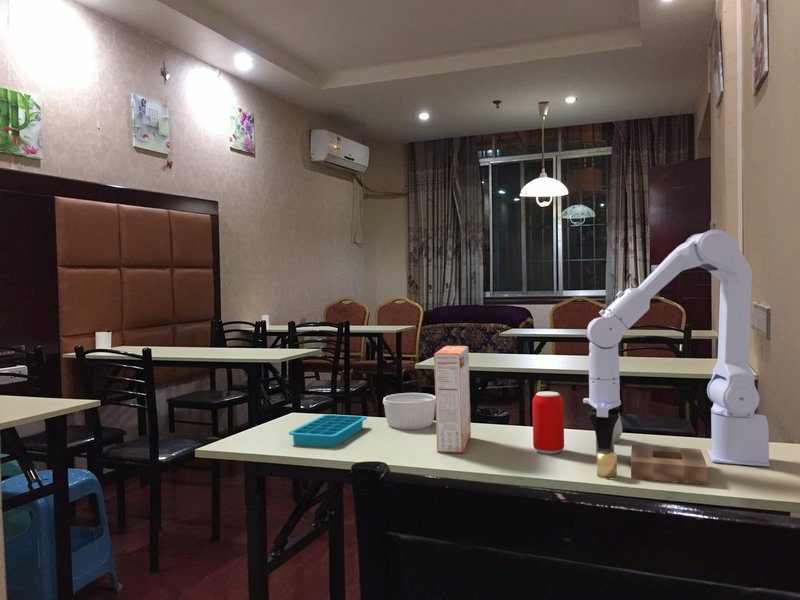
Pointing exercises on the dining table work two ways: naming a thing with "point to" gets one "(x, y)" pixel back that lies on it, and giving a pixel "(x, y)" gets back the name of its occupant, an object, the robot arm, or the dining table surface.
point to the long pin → (606, 449)
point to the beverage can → (548, 422)
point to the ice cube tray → (327, 430)
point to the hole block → (668, 464)
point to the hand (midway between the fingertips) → (605, 446)
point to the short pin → (606, 464)
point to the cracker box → (452, 399)
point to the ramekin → (409, 410)
